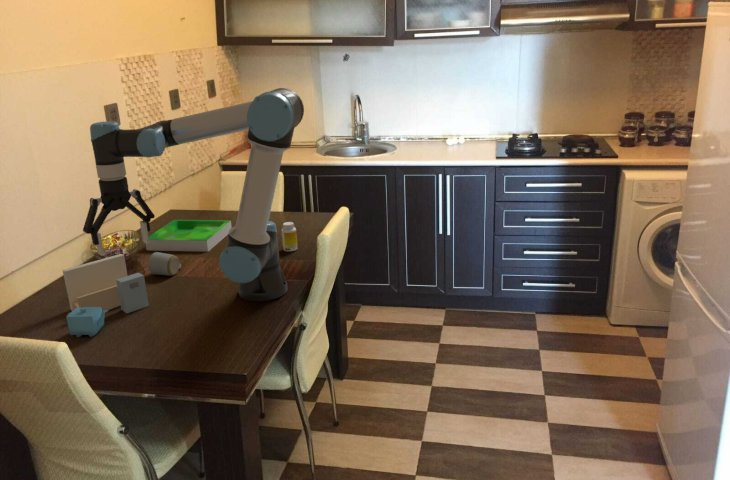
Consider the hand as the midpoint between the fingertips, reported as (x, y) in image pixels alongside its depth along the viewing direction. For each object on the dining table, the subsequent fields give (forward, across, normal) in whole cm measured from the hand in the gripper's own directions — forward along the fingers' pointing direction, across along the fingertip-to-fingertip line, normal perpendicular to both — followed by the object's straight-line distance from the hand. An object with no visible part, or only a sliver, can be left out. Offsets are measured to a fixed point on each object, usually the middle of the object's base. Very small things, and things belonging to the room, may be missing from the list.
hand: (124, 248), depth 182 cm
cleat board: (+19, +5, -10) cm, 22 cm away
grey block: (+19, 0, 0) cm, 19 cm away
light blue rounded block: (+19, +15, +6) cm, 26 cm away
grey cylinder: (+19, -21, -19) cm, 34 cm away
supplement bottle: (+19, -63, -5) cm, 66 cm away
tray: (+20, -44, -45) cm, 66 cm away
